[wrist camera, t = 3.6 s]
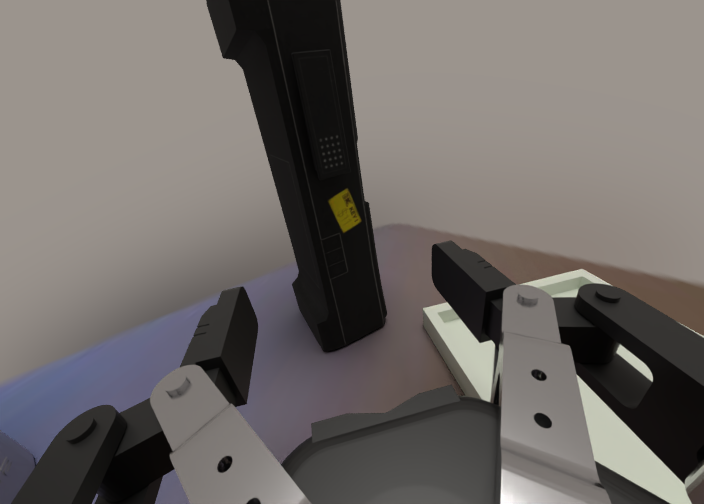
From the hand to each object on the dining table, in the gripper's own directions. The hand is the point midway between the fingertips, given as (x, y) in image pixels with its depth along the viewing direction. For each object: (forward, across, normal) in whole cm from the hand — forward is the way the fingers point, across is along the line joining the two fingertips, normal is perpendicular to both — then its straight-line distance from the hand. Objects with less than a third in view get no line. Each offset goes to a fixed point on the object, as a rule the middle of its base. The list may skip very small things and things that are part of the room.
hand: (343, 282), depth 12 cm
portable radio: (+9, 0, +10) cm, 14 cm away
